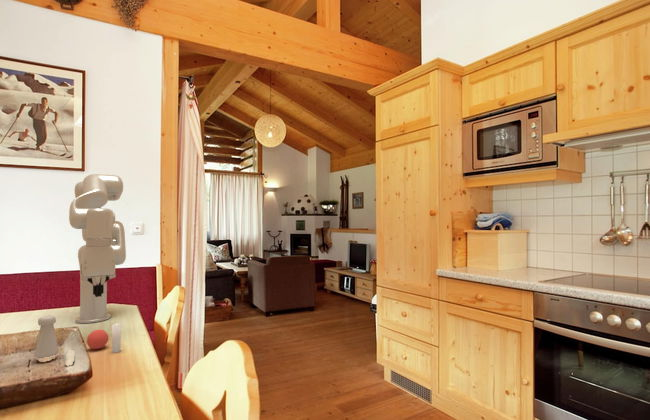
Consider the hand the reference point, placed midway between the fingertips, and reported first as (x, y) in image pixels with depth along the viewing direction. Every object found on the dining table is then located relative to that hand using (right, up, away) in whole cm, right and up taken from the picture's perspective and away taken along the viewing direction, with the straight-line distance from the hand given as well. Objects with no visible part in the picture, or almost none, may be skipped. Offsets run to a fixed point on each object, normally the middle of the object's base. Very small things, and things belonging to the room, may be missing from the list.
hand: (98, 296), depth 131 cm
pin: (+13, -15, -12) cm, 23 cm away
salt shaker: (-4, -15, -19) cm, 25 cm away
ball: (+5, -12, -9) cm, 16 cm away
